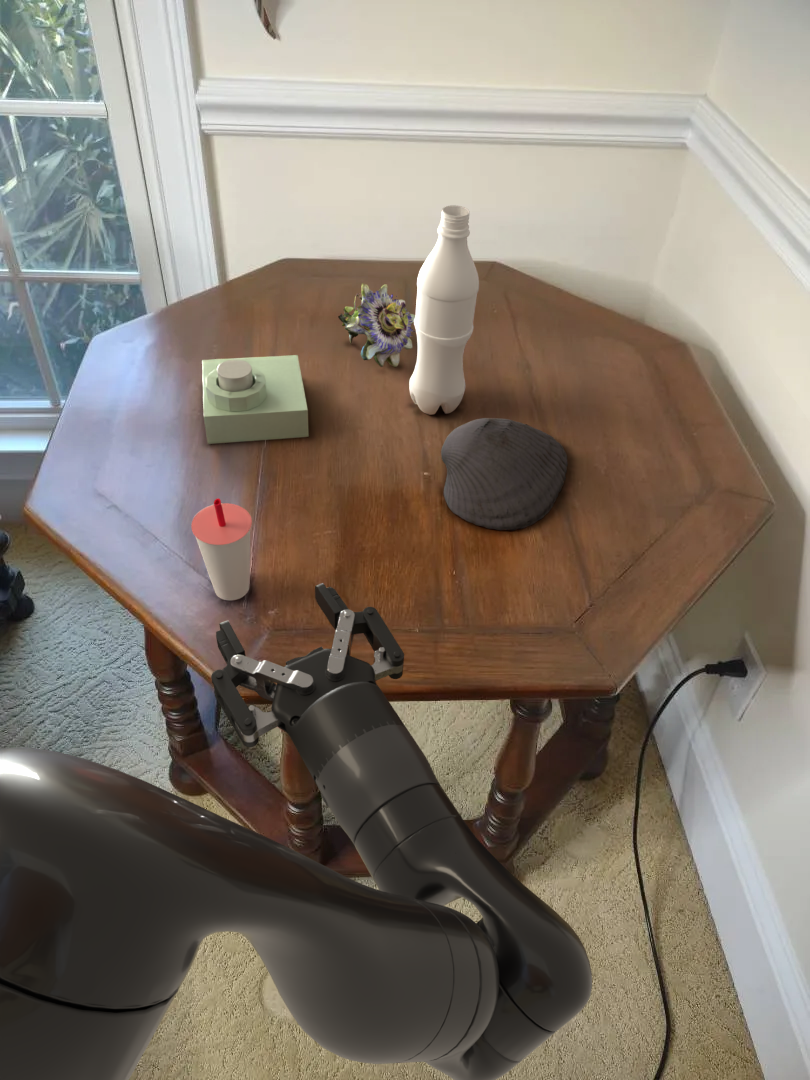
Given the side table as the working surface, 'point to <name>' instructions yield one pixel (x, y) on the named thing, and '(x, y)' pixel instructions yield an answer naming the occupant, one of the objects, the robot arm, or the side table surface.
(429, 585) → the side table surface
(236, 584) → the cup
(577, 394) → the side table surface
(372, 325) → the passion flower
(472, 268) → the water bottle
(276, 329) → the side table surface
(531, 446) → the seashell
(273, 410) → the green button box
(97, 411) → the side table surface
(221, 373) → the button
